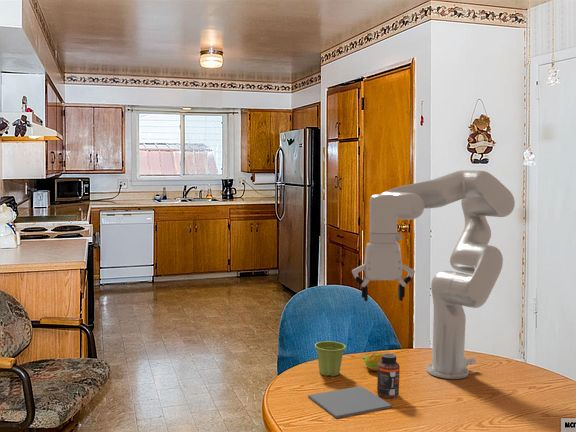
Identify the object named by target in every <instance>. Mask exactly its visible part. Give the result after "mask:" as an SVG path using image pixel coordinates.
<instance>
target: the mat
mask: <svg viewBox="0 0 576 432" xmlns="http://www.w3.org/2000/svg"><path fill="white" fill-rule="evenodd" d="M307 395H308V396H307V397H308V399H309V400H311V401H312V402H314V403H315V404H316V403H317V406H319V407H320V408H322V409H323V410H324V409H325V410H324V411H326V412H327V413H328V414H330V415H331V416H332V417H333V418H335V419H340V418H344V417H350V416H355V415H356V416H357V415H360V414H364V413H369V412H375V411H380V410H386V409H390V408H393V405H392V404H391V403H389V402H387V401H386V400H384V398H383V399H382V397H380V396H379V395H376V394H374V393H373V392H371V391H370V390H368V389H366V388H365V387H363V386H362V385H359V386H354V387H349V388H342V389H335V390H331V391H330V390H329V391H324V392H318V393H313V394H307Z"/></svg>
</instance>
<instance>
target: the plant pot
mask: <svg viewBox="0 0 576 432" xmlns="http://www.w3.org/2000/svg"><path fill="white" fill-rule="evenodd" d="M346 346H347V345H346V344H345V343H341V342H338V341H330V340H327V341H326V340H325V341H324V340H323V341H319V342H316V343H315V344H314V347H315V350H316V354H317V362H318V370H319V371H318V372H319V374H320V375H322V376H325V377H328V376H331V377H335V376H338V375H340V370H341V367H342V360H343V356H344V352H345V350H346V348H347V347H346Z"/></svg>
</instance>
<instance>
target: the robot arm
mask: <svg viewBox="0 0 576 432" xmlns="http://www.w3.org/2000/svg"><path fill="white" fill-rule="evenodd" d="M460 200H461V201H460ZM458 201H460V203H461V209H462V213H463V217H464V228H463V230H462V232H461V235H460V237H459V239H458V241H457V243H456V244H455V246H454V248H453V250H452V252H451V255H450V258H449V264H450V266H451V267H452V268H453V271H452V270H442V271H439V272H437V273H436V274H435V275H434V276H433V278H432V280H431V283H430V286H431V287H430V289H431V297H432V304H433V322H432V323H433V324H432V325H433V327H432V328H433V329H432V352H431V353H432V355H431V363H430V364H428V365H426V372H427V373H428V374H430V375H431V376H434V377H437V378H441V379H447V380H462V379H465V378H467V377H469V375H470V370H469V369H468V368H467V367H468V366H469V365H474V364H476V359H475V358H474V357H469V358H467V357H466V356H465V344H466V343H465V342H466V341H465V339H466V338H465V337H466V314H465V309H464V308H463V307H465V308H466V307H467V308H472V309H478V308H480V307H482V306H484V304H485V303H486V302H487V300H488V299H489V297H490V295H491V292H492V291H493V289H494V287H495V285H496V282H497V280H498V278H499V277H500V274H501V271H502V269H503V265H504V263H503V262H504V258H503V253H502V252H501V251H500V249H499V248H498V247H496V246H494V245H490V244H489V242H490V239H491V238H492V230H491V227H490V224H489V222H488V220H487V217H494V218H495V217H496V218H504V217H507V216H509V215H511V214H512V213H513V211H514V209H515V205H516V204H515V203H516V201H515V197H514V195H513V193H512V192H511V191H510V189H508V188H507V187H506V186H505V184H504V183H502V182H501V181H500V180H499V179H498V178H497V177H495V175H493V174H491V173H490V172H488V171H485V170H458V171H453V172H450V173H447V174H445V175H442V176H438V177H436V178H433V179H430V180H429V179H428V180H424V181H419V182H415V183H411V184H410V183H409V184H405V185H400V186H397V187H394V188H391V189H389V190H386V191H383V192H382V193H377V194H372V195H371V196H370V198H369V242H367V243H366V244H365V245H366V246H365V250H364V262H363V264H361V265H359V266H357V267H356V268H353V269H352V270H351V273H352V275H353V278H354V279H355V281H356V282H357V283H358V284H359V285H360V286H361V298H363V300H364V302H368V301H369V299H368V298H369V297H368V295H369V294H368V291H369V288H368V286H367V285H368V284H369V282H371V281H397V282H398V283H399V284H398V286H397V292H398V293H397V298H398V300H399V302H403V298H405V294H406V291H405V290H406V286H407V285H408V284H409V283H410V282H411V281H412V278H413V277H414V275H415V274H416V273H415V272H416V271H415V270H414V269H413V268H411V267H409V266H407V265H405V264H403V262H402V261H403V260H402V251H401V250H402V249H401V246H400V245H401V244H400V243H399V241H401V240H403V237H404V236H403V234H400V233H398V220H406V221H407V220H408V221H410V220H411V221H412V220H415V219H418V218H419V217H421V216H422V214H423V213H424V210H425V209H437V208H442V207H445V206H447V205H449V204H453V203H455V202H458ZM454 270H455V271H454ZM403 271H405V272H407V274H406V276H405V277H404V278H403ZM360 272H363V273H364V277H363V279H362V278H361V277H360V276H359V273H360Z"/></svg>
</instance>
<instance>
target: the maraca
mask: <svg viewBox="0 0 576 432" xmlns="http://www.w3.org/2000/svg"><path fill="white" fill-rule="evenodd" d="M381 358H382V354H381V352H371V353H369V354H368V355H367V354H365V356H362V360H364V361H363V362H364V364H365V365H366V367H367V368H368V369H369V370H371V371H374V372H378V364H379V362H381V361H382V359H381Z"/></svg>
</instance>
